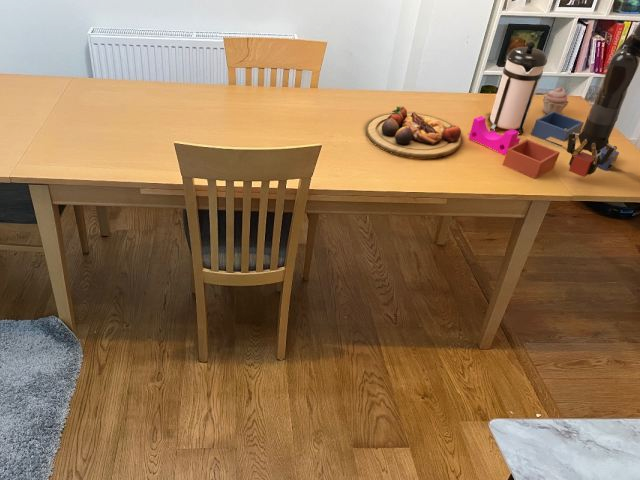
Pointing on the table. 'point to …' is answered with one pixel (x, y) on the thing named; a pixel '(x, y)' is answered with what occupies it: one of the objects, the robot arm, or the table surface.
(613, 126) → the robot arm
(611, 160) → the blue block
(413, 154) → the wooden plate
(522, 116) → the coffee press
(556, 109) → the cupcake
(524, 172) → the red bin
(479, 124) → the magenta cradle bracket
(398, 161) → the table surface
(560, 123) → the blue bin
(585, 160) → the red block
